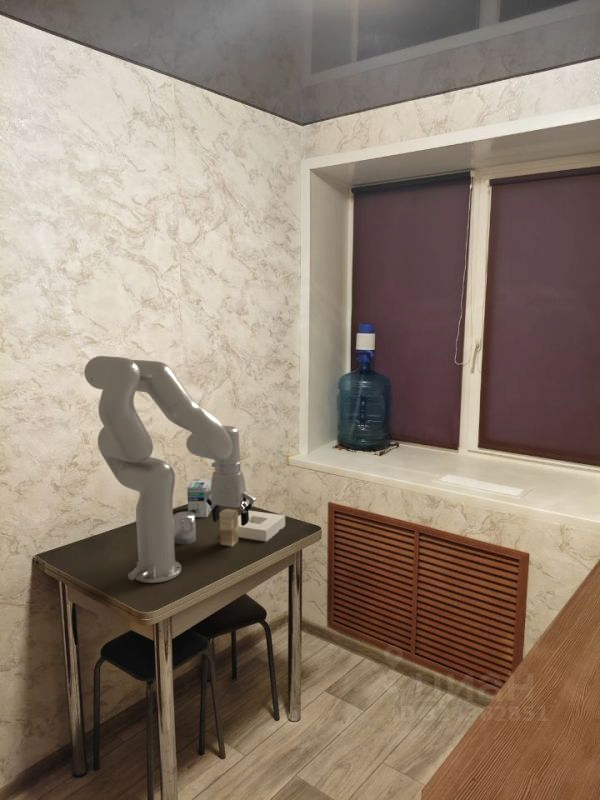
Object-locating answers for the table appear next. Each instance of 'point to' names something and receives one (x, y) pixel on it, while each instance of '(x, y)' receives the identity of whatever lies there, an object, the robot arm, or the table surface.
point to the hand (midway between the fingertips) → (230, 522)
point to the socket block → (261, 526)
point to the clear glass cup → (184, 527)
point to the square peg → (229, 527)
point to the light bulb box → (198, 497)
